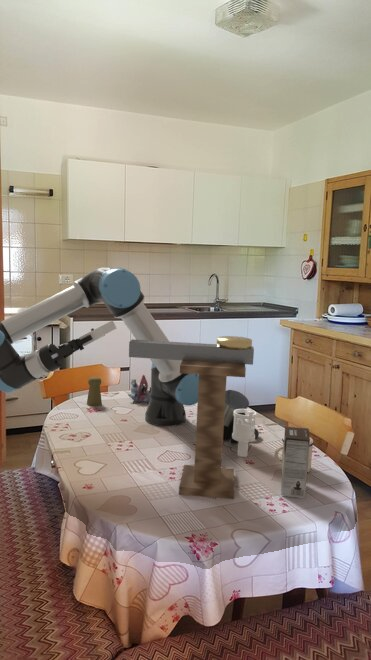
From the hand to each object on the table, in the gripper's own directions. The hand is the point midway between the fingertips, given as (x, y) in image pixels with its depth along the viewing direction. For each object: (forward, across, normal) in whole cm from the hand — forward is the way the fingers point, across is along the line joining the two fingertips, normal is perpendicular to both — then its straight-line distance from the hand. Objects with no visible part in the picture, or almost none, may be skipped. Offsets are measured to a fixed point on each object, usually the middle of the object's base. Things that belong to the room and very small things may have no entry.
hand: (108, 327), depth 142 cm
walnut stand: (+7, +10, -50) cm, 51 cm away
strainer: (+15, -13, -55) cm, 58 cm away
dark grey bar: (+18, +10, -17) cm, 27 cm away
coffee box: (+26, +9, -61) cm, 67 cm away
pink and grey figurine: (-21, -64, -34) cm, 76 cm away
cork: (-36, -55, -25) cm, 70 cm away
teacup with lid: (+27, -5, -62) cm, 68 cm away
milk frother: (+13, -28, -52) cm, 60 cm away
